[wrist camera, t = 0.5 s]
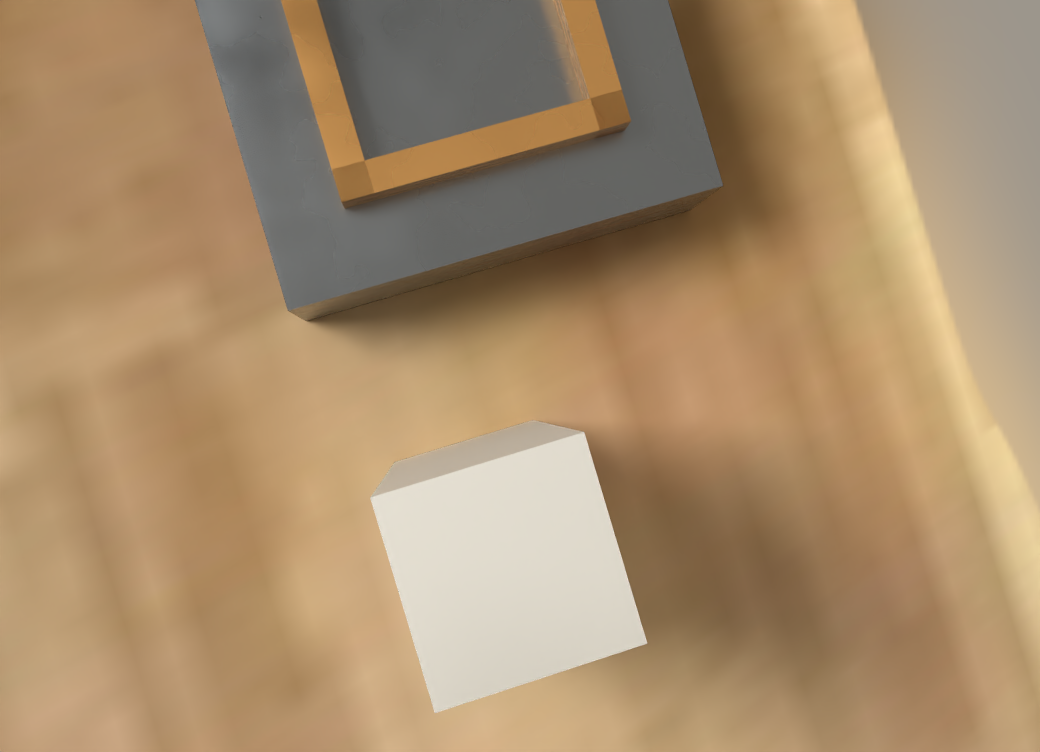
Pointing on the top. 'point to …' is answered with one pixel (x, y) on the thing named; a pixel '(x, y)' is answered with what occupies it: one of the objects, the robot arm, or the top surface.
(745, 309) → the top surface
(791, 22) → the top surface
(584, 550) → the column
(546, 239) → the jig plate
